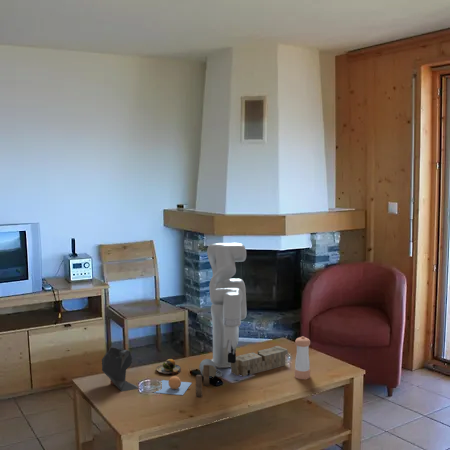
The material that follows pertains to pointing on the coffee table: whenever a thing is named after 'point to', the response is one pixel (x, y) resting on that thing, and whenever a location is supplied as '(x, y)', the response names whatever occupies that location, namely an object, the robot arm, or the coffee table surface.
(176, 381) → the ball
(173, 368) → the fruit plate
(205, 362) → the ceramic mug
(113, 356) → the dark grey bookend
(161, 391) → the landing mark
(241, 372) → the block tower
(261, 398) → the coffee table surface
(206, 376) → the post
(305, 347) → the salt shaker
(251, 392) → the coffee table surface
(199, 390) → the post
